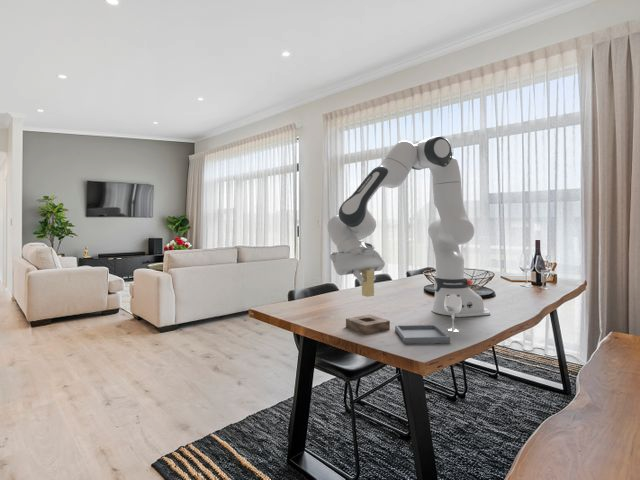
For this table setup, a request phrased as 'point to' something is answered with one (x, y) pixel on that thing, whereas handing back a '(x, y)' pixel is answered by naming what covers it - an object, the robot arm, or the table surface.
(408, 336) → the tray
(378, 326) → the block
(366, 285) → the yellow rectangular block
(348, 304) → the table surface
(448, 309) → the wineglass
